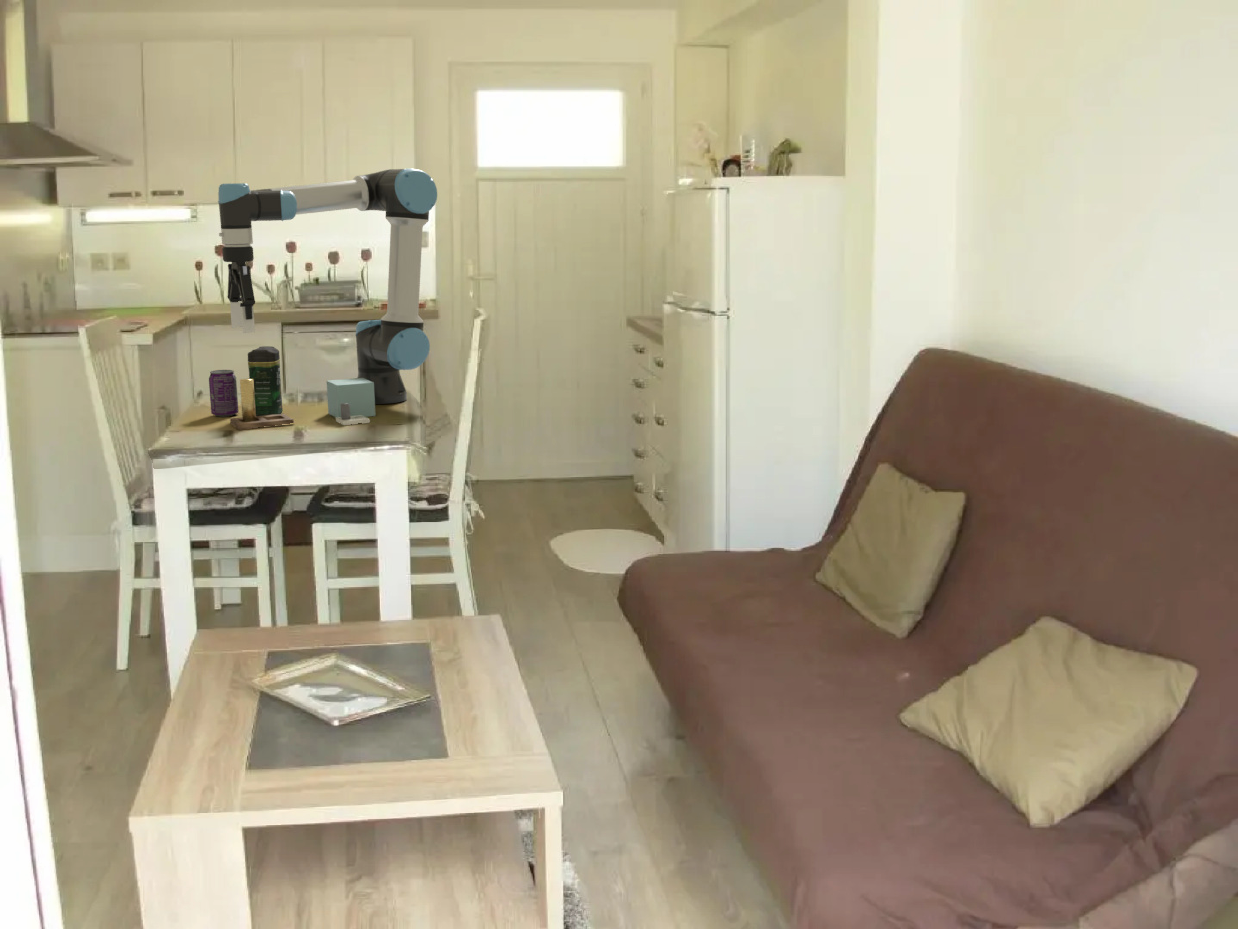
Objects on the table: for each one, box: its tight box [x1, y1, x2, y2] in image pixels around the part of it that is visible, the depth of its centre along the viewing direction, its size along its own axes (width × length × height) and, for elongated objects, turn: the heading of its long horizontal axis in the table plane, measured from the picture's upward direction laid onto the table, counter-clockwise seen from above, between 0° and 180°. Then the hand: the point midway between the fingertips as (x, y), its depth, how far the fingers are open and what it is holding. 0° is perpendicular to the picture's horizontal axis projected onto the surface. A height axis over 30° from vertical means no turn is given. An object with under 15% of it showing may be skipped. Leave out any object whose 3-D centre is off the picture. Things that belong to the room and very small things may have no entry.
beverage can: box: [208, 369, 239, 418], centre depth 370 cm, size 7×7×12 cm
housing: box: [326, 377, 376, 418], centre depth 369 cm, size 10×10×9 cm
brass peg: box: [239, 378, 256, 422], centre depth 355 cm, size 3×3×12 cm
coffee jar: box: [247, 345, 284, 416], centre depth 369 cm, size 10×8×19 cm
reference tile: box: [335, 403, 371, 426], centre depth 359 cm, size 7×7×5 cm
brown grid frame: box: [229, 413, 295, 430], centre depth 357 cm, size 14×10×1 cm
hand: (243, 329), depth 351 cm, fingers open, 13 cm apart
